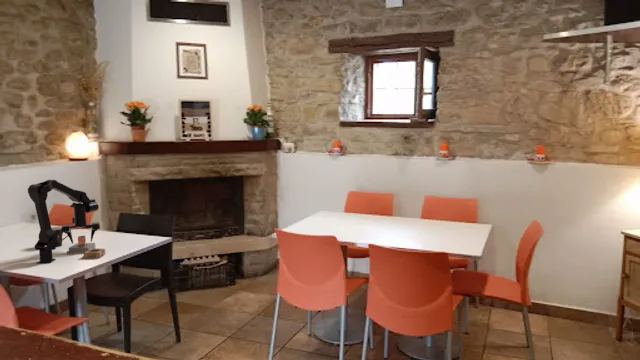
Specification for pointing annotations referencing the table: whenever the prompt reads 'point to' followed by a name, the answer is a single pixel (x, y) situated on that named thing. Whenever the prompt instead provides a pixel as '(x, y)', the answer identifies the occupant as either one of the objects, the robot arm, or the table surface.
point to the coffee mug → (59, 233)
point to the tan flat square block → (94, 253)
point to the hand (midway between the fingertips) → (82, 242)
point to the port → (81, 248)
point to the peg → (81, 241)
